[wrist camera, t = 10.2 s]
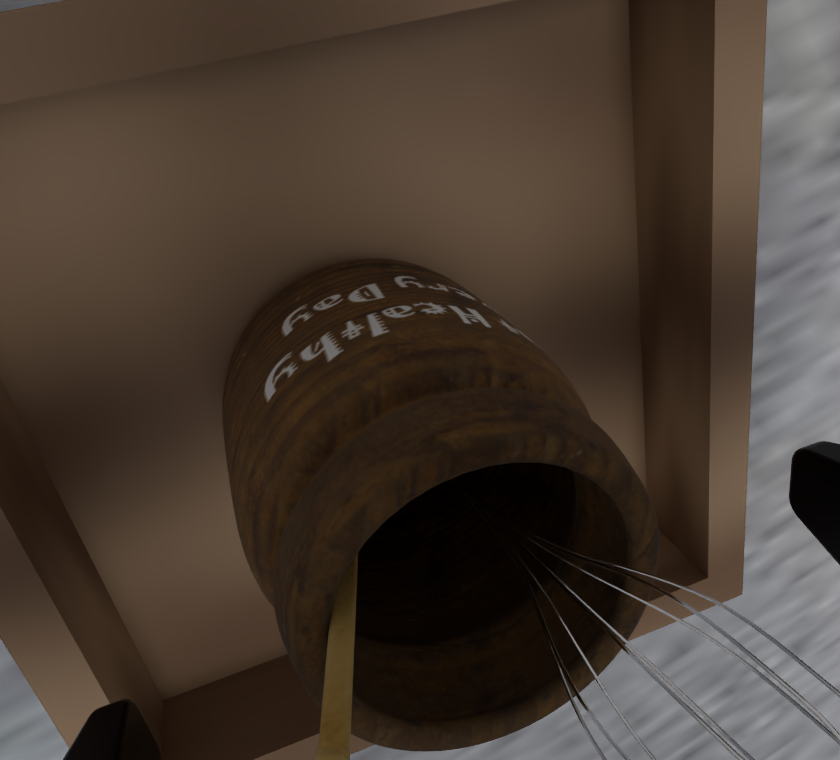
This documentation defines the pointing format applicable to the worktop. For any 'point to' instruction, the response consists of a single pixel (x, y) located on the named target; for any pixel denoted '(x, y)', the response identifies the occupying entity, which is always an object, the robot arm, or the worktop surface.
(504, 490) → the utensil holder
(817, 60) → the worktop surface
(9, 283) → the tray
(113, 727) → the robot arm
